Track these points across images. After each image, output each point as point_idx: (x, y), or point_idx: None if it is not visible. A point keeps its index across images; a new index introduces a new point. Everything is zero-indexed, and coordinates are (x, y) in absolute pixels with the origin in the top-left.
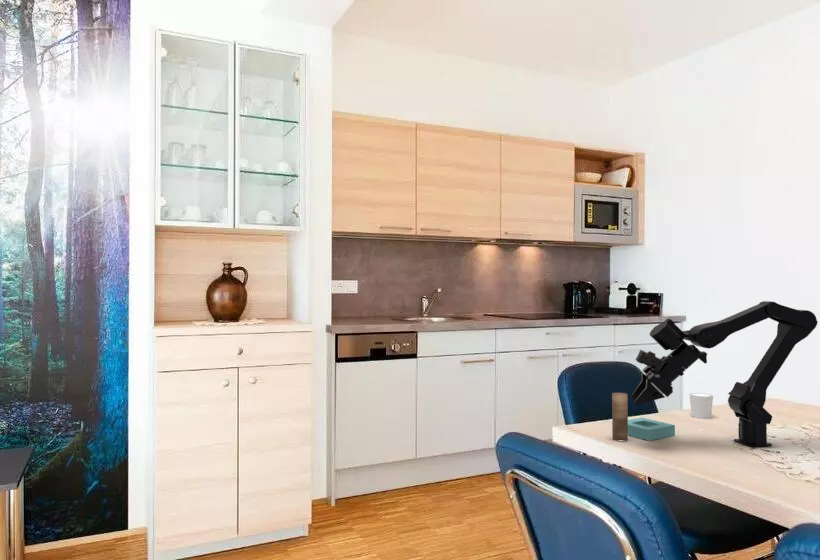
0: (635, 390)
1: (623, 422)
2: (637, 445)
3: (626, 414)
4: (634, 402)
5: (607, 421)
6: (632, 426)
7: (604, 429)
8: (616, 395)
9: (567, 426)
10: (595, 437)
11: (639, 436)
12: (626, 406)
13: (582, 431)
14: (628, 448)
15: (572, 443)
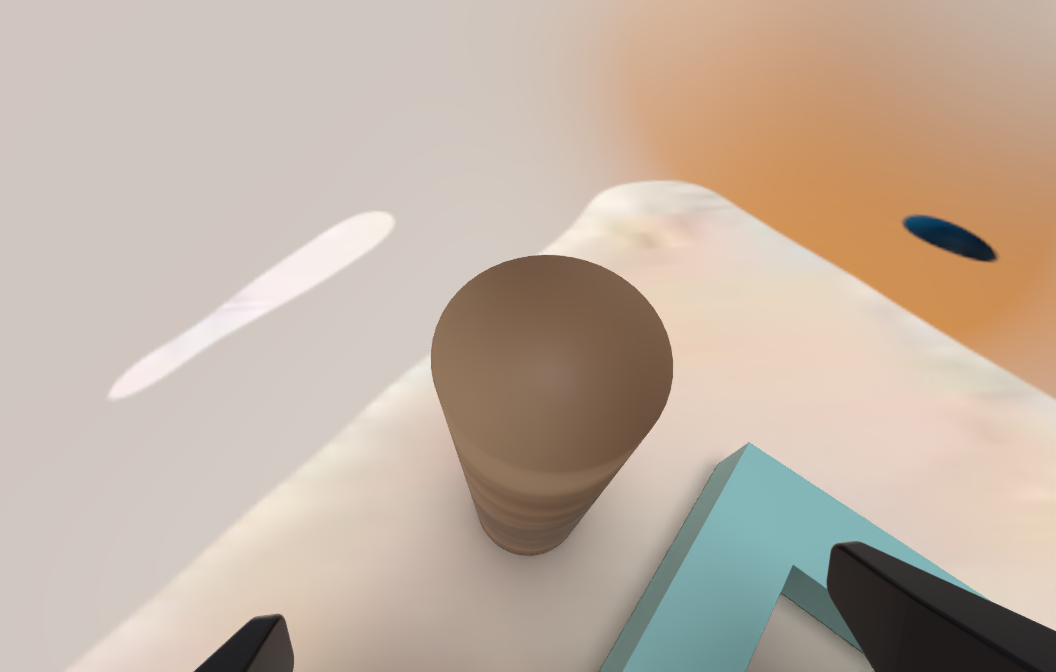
0: (974, 622)
1: (473, 499)
2: (389, 638)
3: (495, 515)
4: (247, 624)
5: (1003, 389)
6: (670, 583)
7: (761, 386)
8: (443, 316)
9: (715, 208)
10: None
11: (614, 649)
12: (497, 498)
13: (640, 279)
14: (287, 570)
15: (351, 258)
